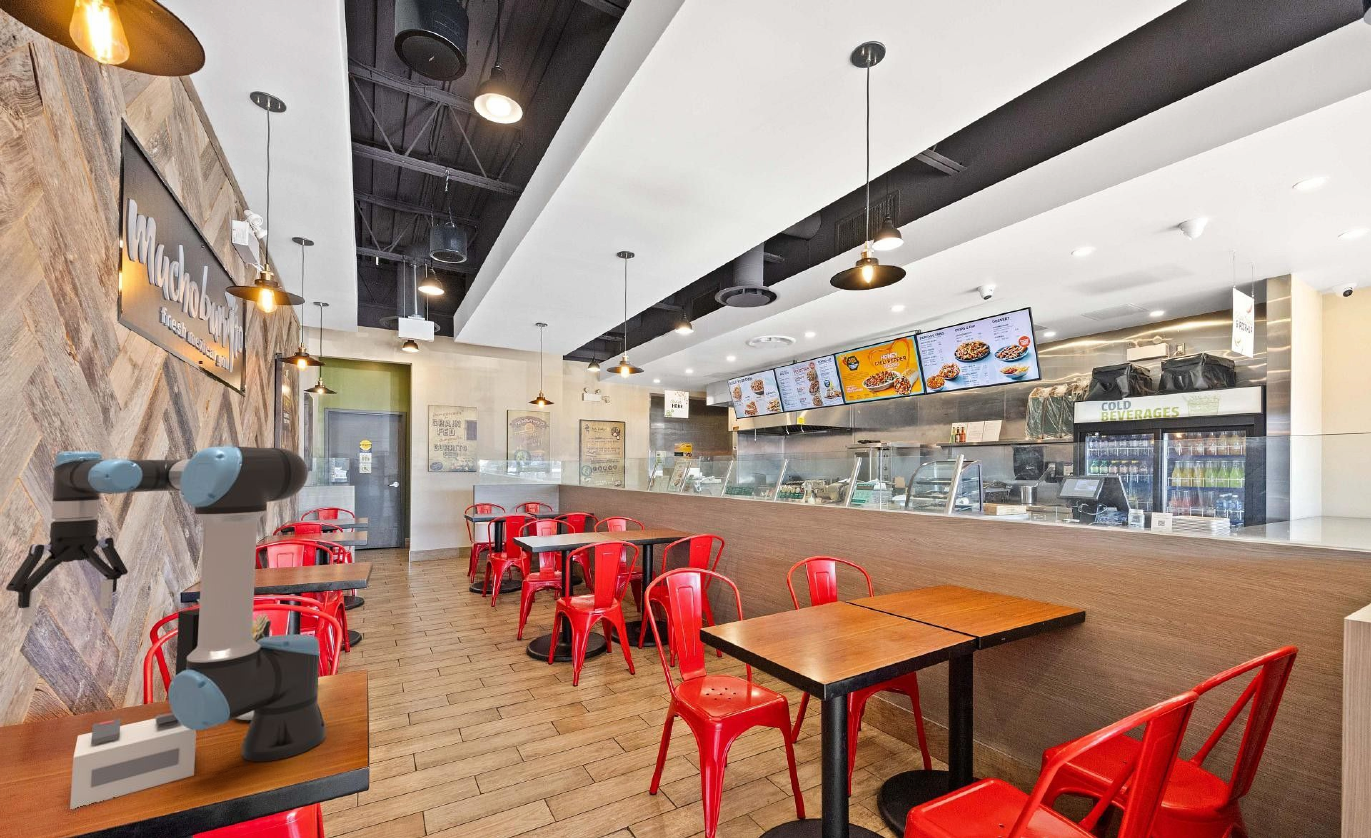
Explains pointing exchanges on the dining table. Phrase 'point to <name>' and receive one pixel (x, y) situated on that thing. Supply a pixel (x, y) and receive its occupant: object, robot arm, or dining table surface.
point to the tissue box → (186, 636)
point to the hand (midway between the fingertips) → (68, 615)
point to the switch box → (131, 761)
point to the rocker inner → (165, 717)
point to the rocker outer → (105, 731)
